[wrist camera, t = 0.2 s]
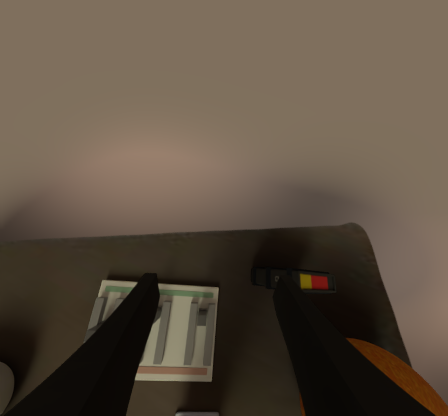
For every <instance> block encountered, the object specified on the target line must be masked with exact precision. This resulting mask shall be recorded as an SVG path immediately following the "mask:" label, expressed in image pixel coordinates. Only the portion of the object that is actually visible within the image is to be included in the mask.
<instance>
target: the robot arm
mask: <svg viewBox="0 0 448 416" xmlns="http://www.w3.org/2000/svg"><path fill="white" fill-rule="evenodd" d="M159 299H160V292H159V286H158V280H157V274H156V273H145V274H144V275H143V276H142V278H141V279H140V280H139V281H138V283H137V284H136V285H135V287H134V288H133V289H132V290H131V291H130V293H129V294H128V295H127V296H126V298H125V299H124V300H123V301H122V302H121V303H120V305H119V306H118V307H117V308H116V309H115V311H114V312H113V313H112V314H111V315H110V316H109V317H108V318H107V319H106V320H105V322H104V323H103V324H102V325H101V326H100V327H99V328H98V329H97V330H96V331H95V332H94V333H93V334H92V335H91V337H90V338H89V339H88V340H87V341H86V342H85V343H84V344H83V345H82V346H81V347H80V348H79V349H78V350H77V351H76V352H74V353H73V354H72V355H71V356H70V357H69V358H68V359H67V360H66V361H65V362H64V363H63V364H62V365H61V366H60V367H59V368H58V369H56V370H55V371H54V372H53V373H52V374H51V375H50V376H49V377H48V378H47V379H46V380H44V381H43V382H42V383H41V384H40V385H39V386H38V387H37V388H35V389H34V390H33V391H32V392H31V393H30V394H28V395H27V396H26V397H25V398H24V399H23V400H21V401H20V402H19V403H18V404H17V405H15V406H14V407H13V408H12V409H11V410H10V411H8V412H7V413H6V414H5V415H4V416H126V412H127V408H128V404H129V400H130V396H131V393H132V389H133V385H134V381H135V377H136V374H137V370H138V367H139V364H140V361H141V358H142V355H143V352H144V349H145V346H146V343H147V340H148V337H149V335H150V332H151V329H152V326H153V323H154V320H155V317H156V313H157V308H158V304H159ZM273 301H274V306H275V310H276V315H277V318H278V321H279V324H280V327H281V330H282V333H283V336H284V339H285V342H286V345H287V348H288V351H289V354H290V357H291V360H292V364H293V367H294V370H295V374H296V378H297V382H298V386H299V390H300V394H301V398H302V403H303V407H304V411H305V416H436V415H435V414H433V413H432V412H431V411H430V410H428V409H427V408H426V407H424V406H423V405H422V404H421V403H419V402H418V401H417V400H416V399H414V398H413V397H412V396H411V395H409V394H408V393H407V392H406V391H404V390H403V389H402V388H401V387H400V386H398V385H397V384H396V383H395V382H394V381H393V380H391V379H390V378H389V377H388V376H387V375H386V374H384V373H383V372H382V371H381V370H380V369H379V368H377V367H376V366H375V365H374V364H373V363H372V362H371V361H369V360H368V359H367V358H366V357H365V356H364V355H363V354H362V353H361V352H360V351H359V350H358V349H357V348H355V347H354V346H353V345H352V344H351V343H350V342H349V341H348V340H347V339H346V338H345V337H344V336H343V335H342V334H341V333H340V332H339V331H338V330H337V329H336V328H335V327H334V326H333V325H332V324H331V322H330V321H329V320H328V319H327V318H326V317H325V316H324V315H323V314H322V313H321V312H320V310H319V309H318V308H317V307H316V306H315V305H314V304H313V302H312V301H311V300H310V299H309V298H308V297H307V295H306V294H305V293H304V292H303V291H302V289H301V288H300V287H299V286H298V285H297V283H296V282H295V281H294V280H293V279H292V277H291V276H290V275H280V276H279V279H278V282H277V285H276V288H275V291H274V295H273ZM175 416H219V413H218V412H177V413H176V414H175Z"/></svg>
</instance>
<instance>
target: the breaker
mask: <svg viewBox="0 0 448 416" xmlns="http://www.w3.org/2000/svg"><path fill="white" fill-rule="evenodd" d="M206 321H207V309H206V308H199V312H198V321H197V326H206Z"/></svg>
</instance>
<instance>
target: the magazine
mask: <svg viewBox="0 0 448 416" xmlns="http://www.w3.org/2000/svg"><path fill="white" fill-rule="evenodd" d="M280 275H290V276H291V277H292V279H293V280H294V281H295V282H296V283H297V285H298V286H299V287H300V288H301V289H302V291H303V292H304V293H305V294H331V293H336V292H337V290H336V282H335V276H334V275H332V274H329V273H328V272H320V271H311V270H303V269H294V268H286V269H283V268H273V267H266V268H264V267H253V268H252V270H251V282H253V285H258V286H266V288H267V289H275V288H276V285H277V282H278V279H279V276H280Z"/></svg>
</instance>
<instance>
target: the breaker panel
mask: <svg viewBox="0 0 448 416" xmlns="http://www.w3.org/2000/svg"><path fill="white" fill-rule="evenodd" d="M137 283H138V282H132V281H117V280H103V281H102V284H101V288H100V291H99V295H98V298H96V301H95V305H94V308H93V312H92V315H91V319H90V322H89V326H88V329H90V328H92V327H94V326H96V325H98V324H99V323H100V322H101V321H103V320H104V321H105V320H106V319H107V318H108V317H109V316H110V315H111V314H112V313H113V312H114V311H115V309H116V308H117V307H118V306H119V305H120V303H121V302H122V301H123V300H124V299H125V298H126V296H127V295H128V294H129V293H130V291H131V290H132V289H133V288H134V287H135V285H136V284H137ZM158 286H159V292H160V299H159V304H158V306H162V311H161V317H160V318H159V319H158V320H157V321H156V322H155V323H154V324H153V326H152V329H151V332H150V335H149V337H148V340H147V343H146V346H145V349H144V352H143V355H142V358H141V361H140V364H139V367H138V370H137V374H136V377H135V380H156V381H203V382H212V370H213V356H214V343H215V330H216V317H217V303H218V290H219V288H218V287H207V286H192V285H177V284H162V283H158ZM199 308H206V309H207V321H206V326H197V321H198V312H199ZM88 329H87V330H88ZM84 343H85V342H84Z"/></svg>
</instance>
